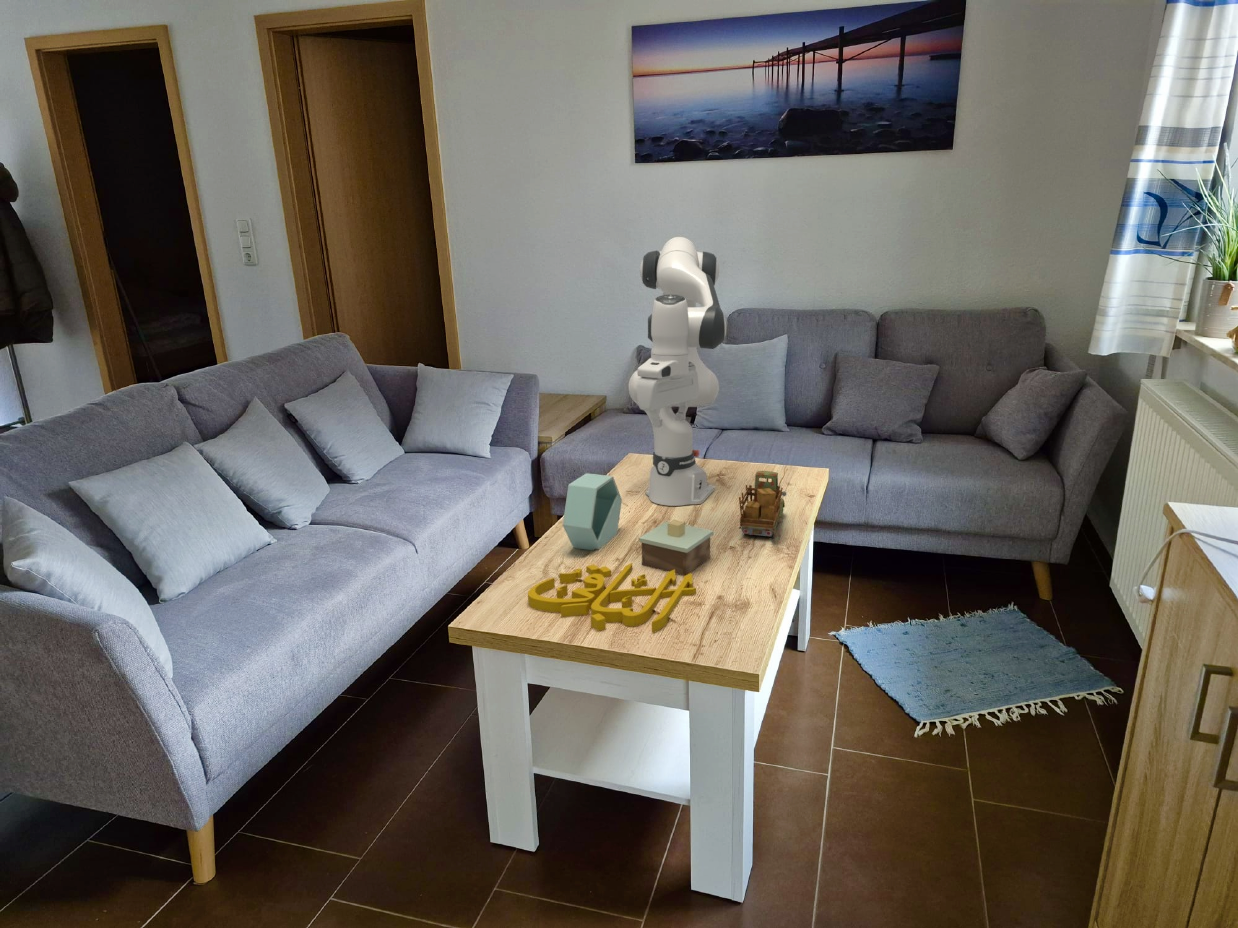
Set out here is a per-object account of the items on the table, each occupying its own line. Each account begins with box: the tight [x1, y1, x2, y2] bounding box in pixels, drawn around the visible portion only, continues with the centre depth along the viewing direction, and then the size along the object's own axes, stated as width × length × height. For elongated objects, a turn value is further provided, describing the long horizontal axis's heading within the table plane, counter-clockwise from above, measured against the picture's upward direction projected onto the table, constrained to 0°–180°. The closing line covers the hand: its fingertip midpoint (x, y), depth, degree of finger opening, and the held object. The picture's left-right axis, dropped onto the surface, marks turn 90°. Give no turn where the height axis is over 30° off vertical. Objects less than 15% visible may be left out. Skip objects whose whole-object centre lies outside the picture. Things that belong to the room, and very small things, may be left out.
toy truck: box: [738, 470, 787, 540], centre depth 226 cm, size 11×25×15 cm, turn 162°
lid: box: [638, 519, 714, 553], centre depth 202 cm, size 13×13×4 cm
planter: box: [562, 472, 623, 551], centre depth 217 cm, size 17×8×21 cm
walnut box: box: [641, 537, 711, 577], centre depth 204 cm, size 12×12×7 cm
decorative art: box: [527, 562, 697, 633], centre depth 188 cm, size 34×3×30 cm
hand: (669, 423), depth 203 cm, fingers open, 8 cm apart
